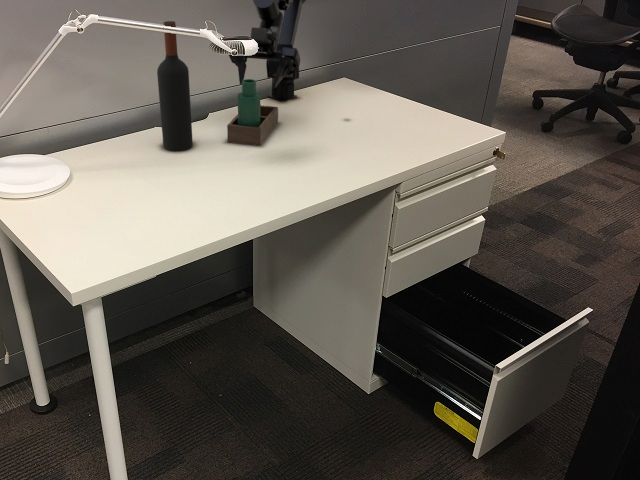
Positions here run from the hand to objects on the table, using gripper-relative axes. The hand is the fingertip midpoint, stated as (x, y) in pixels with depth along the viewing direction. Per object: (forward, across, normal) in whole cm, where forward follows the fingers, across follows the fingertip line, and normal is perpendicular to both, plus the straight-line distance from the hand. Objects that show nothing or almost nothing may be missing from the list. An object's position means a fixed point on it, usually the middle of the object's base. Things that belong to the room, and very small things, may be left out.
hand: (257, 85), depth 175 cm
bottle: (+13, 0, +2) cm, 13 cm away
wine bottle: (+21, -16, -4) cm, 27 cm away
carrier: (+11, 0, +6) cm, 12 cm away
